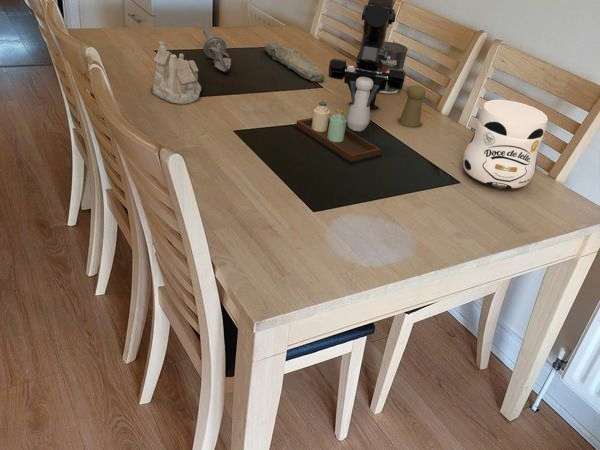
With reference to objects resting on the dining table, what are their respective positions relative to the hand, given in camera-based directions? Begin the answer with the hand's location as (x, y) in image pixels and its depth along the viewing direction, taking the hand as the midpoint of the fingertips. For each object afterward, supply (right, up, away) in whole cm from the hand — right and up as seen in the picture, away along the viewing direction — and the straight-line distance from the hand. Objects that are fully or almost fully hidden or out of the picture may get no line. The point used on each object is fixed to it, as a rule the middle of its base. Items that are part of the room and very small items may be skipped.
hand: (360, 105), depth 146 cm
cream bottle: (-9, -3, +17) cm, 19 cm away
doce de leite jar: (+34, -18, +4) cm, 39 cm away
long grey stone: (-18, +26, +62) cm, 69 cm away
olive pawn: (+18, +1, +30) cm, 34 cm away
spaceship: (-44, +27, +58) cm, 78 cm away
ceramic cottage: (-50, +10, +29) cm, 59 cm away
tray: (-5, -7, +12) cm, 15 cm away
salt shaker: (0, -5, +5) cm, 7 cm away
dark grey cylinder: (+13, +16, +53) cm, 57 cm away
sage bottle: (-5, -6, +12) cm, 15 cm away
